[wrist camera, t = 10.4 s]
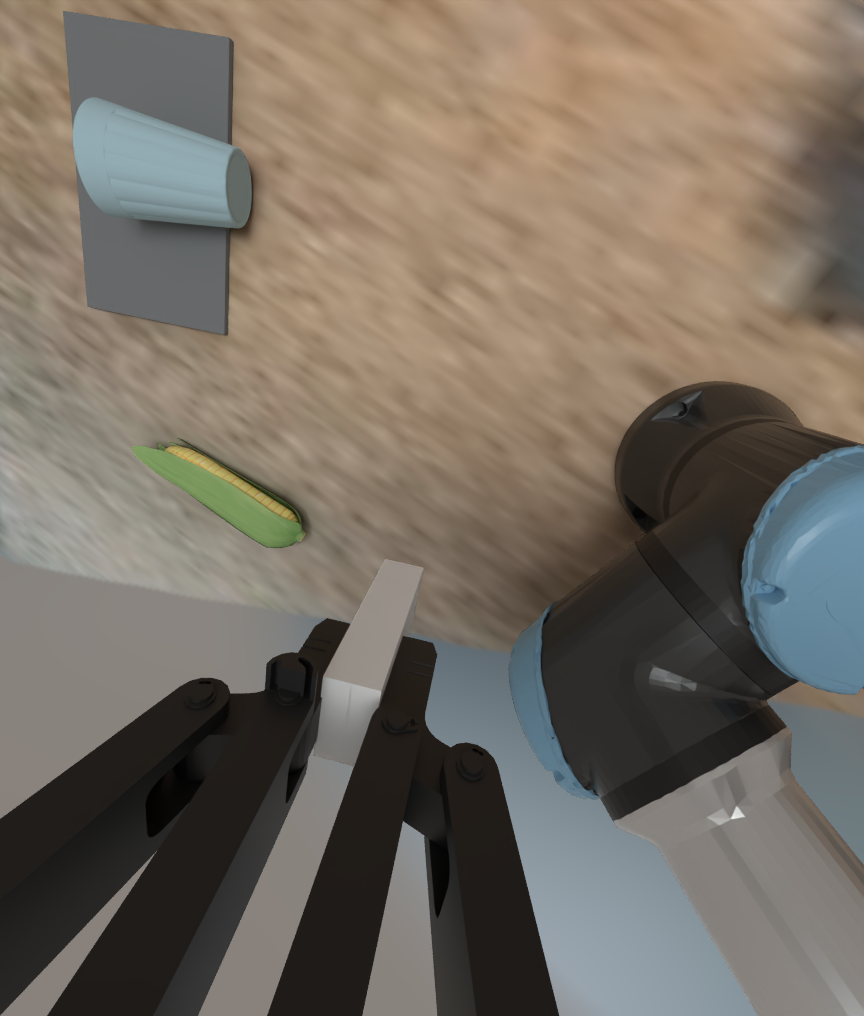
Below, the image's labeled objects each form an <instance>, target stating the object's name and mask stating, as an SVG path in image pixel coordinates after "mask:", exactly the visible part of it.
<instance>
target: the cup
mask: <svg viewBox="0 0 864 1016" xmlns="http://www.w3.org/2000/svg"><path fill="white" fill-rule="evenodd" d="M73 148H74V155H75V160H76V164H77V168H78V171H79V174H80V177H81V180H82V182H83V185H84V187H85V189H86V191H87V193H88V194H89V196H90V198H91V199H92V200H93V202H94V203H95V204H96V205H97V207H98V208H99V209H100V210H102V211H103V212H104V213H106V214H107V215H109V216H112V217H119V218H129V219H141V220H152V221H162V222H173V223H184V224H194V225H205V226H215V227H226V228H242V227H243V226H244V225H245V224H246V222H247V220H248V218H249V214H250V209H251V201H252V185H251V176H250V170H249V166H248V162H247V159H246V157H245V155H244V153H243V152H242V151H241V149H239V148H238V147H235V146H232V145H230V144H227V143H224V142H221V141H219V140H216V139H213V138H210V137H207V136H204V135H202V134H199V133H196V132H193V131H190V130H187V129H185V128H182V127H179V126H176V125H173V124H170V123H168V122H165V121H162V120H159V119H156V118H153V117H151V116H148V115H145V114H142V113H139V112H136V111H134V110H131V109H128V108H126V107H123V106H120V105H117V104H115V103H112V102H109V101H106V100H103V99H100V98H96V97H92V98H88V99H86V100H85V101H84V102H83V103H82V104H81V105H80V107H79V108H78V110H77V113H76V116H75V119H74V126H73Z"/></svg>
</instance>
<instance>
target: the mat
mask: <svg viewBox="0 0 864 1016" xmlns="http://www.w3.org/2000/svg"><path fill="white" fill-rule="evenodd" d="M63 16H64V28H65V40H66V52H67V64H68V76H69V88H70V100H71V112H72V124H73V126H74V119H75V116H76V113H77V110H78V108H79V107H80V105H81V104H82V103H83V102H84V101H85V100H86V99H88V98H92V97H96V98H100V99H103V100H106V101H109V102H112V103H115V104H117V105H120V106H123V107H126V108H128V109H131V110H134V111H136V112H139V113H142V114H145V115H148V116H151V117H153V118H156V119H159V120H162V121H165V122H168V123H170V124H173V125H176V126H179V127H182V128H185V129H187V130H190V131H193V132H196V133H199V134H202V135H204V136H207V137H210V138H213V139H216V140H219V141H221V142H224V143H227V144H230V145H231V140H232V88H233V41H232V40H231V39H230V38H229V37H223V36H216V35H210V34H204V33H198V32H191V31H185V30H179V29H173V28H166V27H160V26H154V25H148V24H141V23H135V22H129V21H123V20H116V19H110V18H104V17H98V16H91V15H85V14H79V13H73V12H66V11H63ZM76 172H77V184H78V196H79V208H80V220H81V232H82V245H83V257H84V269H85V281H86V293H87V305H88V307H91V308H96V309H101V310H106V311H111V312H116V313H121V314H126V315H130V316H135V317H140V318H145V319H150V320H155V321H160V322H165V323H169V324H174V325H179V326H184V327H189V328H194V329H199V330H204V331H208V332H213V333H218V334H223V335H228V294H229V243H230V228H226V227H215V226H205V225H194V224H184V223H173V222H162V221H152V220H141V219H129V218H119V217H112V216H109V215H107V214H106V213H104V212H103V211H102V210H100V209H99V208H98V207H97V205H96V204H95V203H94V202H93V200H92V199H91V198H90V196H89V194H88V193H87V191H86V189H85V187H84V185H83V182H82V180H81V177H80V174H79V171H78V168H77V164H76Z"/></svg>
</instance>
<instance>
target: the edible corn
mask: <svg viewBox="0 0 864 1016" xmlns="http://www.w3.org/2000/svg"><path fill="white" fill-rule="evenodd" d="M179 440H180V439H179ZM180 441H182V440H180ZM167 442H168V441H167ZM182 442H183V443H185V442H184V441H182ZM169 443H171V442H169ZM171 444H172V445H174V446H170V447H168V448H165V447H164V446H162V445H160V444H159V443H158V447H159V450H157V449H153V448H149V447H145V446H134V447H131V448H132V450H133V452H134V454H135V456H136V457H137V458H138V459H139V460H141V461H142V462H143V463H144V464H146V465H147V466H148V467H150V468H151V469H152V470H153V471H155V472H156V473H157V474H159V475H160V476H162V477H164V478H165V479H167V480H168V481H170V482H171V483H173V484H175V485H176V486H178V487H179V488H181V489H182V490H184V491H186V492H187V493H188V494H190V495H191V496H192V497H194V498H195V499H196V500H198V501H199V502H200V503H202V504H203V505H204V506H206V507H207V508H209V509H210V510H211V511H213V512H214V513H215V514H217V515H218V516H220V517H221V518H222V519H224V520H225V521H226V522H228V523H229V524H231V525H232V526H233V527H235V528H236V529H238V530H239V531H241V532H242V533H244V534H245V535H247V536H248V537H250V538H252V539H253V540H255V541H256V542H258V543H260V544H262V545H263V546H265V547H270V548H282V547H287V546H291V545H293V544H294V543H295V542H296V541H297V542H299V543H300V542H301V541H302V539H303V538H304V537H305V535H306V532H304V531H303V530H302V523H301V517H300V516H299V514H298V512H297V511H296V510H295V509H294V508H293V507H292V506H291V505H290V504H288V503H287V502H285V501H284V500H282V499H281V498H279V497H277V496H276V495H274V494H272V493H271V492H269V491H267V490H265V489H264V488H262V487H260V486H258V485H257V484H255V483H253V482H251V481H250V480H248V479H246V478H244V477H243V476H241V475H239V474H238V473H236V472H234V471H232V470H231V469H229V468H227V467H226V466H224V465H222V464H221V463H219V462H217V461H215V460H214V459H212V458H210V457H209V456H207V455H205V454H204V453H202V452H200V451H199V450H197V449H195V448H194V447H192V446H190V445H189V444H187V443H185V444H187V445H188V446H190V447H191V448H193V449H195V450H196V451H198V452H199V453H201V454H203V455H204V456H203V455H201V454H199V453H198V452H196V451H194V450H191V449H188V448H185V447H182V446H179V445H176V444H174V443H171ZM205 456H206V457H205ZM225 468H226V469H225ZM230 471H231V472H230Z"/></svg>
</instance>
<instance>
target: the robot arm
mask: <svg viewBox="0 0 864 1016" xmlns="http://www.w3.org/2000/svg"><path fill="white" fill-rule="evenodd" d="M615 483H616V488H617V492H618V496H619V498H620V501H621V503H622V505H623V507H624V508H625V510H626V511H627V513H628V514H629V516H630V517H631V518H632V520H633V521H634V522H635V524H636V525H637V526H638V527H639V528H640V529H641V530H642V531H644V532H645V533H646V534H647V535H645V536H644V537H643V538H641V539H640V540H639V541H637V542H635V543H634V544H633V545H631V546H630V547H629V548H627V549H626V550H625V551H624V552H622V553H621V554H620V555H618V556H617V557H616V558H615V559H613V560H612V561H611V562H610V563H608V564H607V565H606V566H604V567H603V568H602V569H601V570H599V571H598V572H597V573H595V574H594V575H593V576H592V577H590V578H589V579H588V580H586V581H585V582H584V583H583V584H581V585H580V586H578V587H577V588H576V589H574V590H573V591H572V592H570V593H569V594H568V595H566V596H565V597H564V598H562V599H561V600H560V601H556V602H554V603H553V604H551V605H550V606H548V607H547V608H546V609H545V610H544V612H543V613H542V615H541V616H540V617H539V618H538V619H537V620H536V621H535V622H534V623H533V624H531V625H530V626H529V627H528V628H527V629H525V630H524V631H523V632H522V633H521V634H520V635H519V637H518V638H517V639H516V641H515V643H514V645H513V647H512V651H511V660H510V663H509V683H510V690H511V695H512V700H513V704H514V707H515V710H516V713H517V716H518V719H519V721H520V724H521V727H522V729H523V731H524V734H525V736H526V738H527V740H528V742H529V744H530V746H531V748H532V749H533V751H534V753H535V755H536V756H537V758H538V759H539V761H540V762H541V764H542V765H543V766H544V768H545V769H546V770H548V771H553V774H554V777H555V780H556V782H557V783H558V784H559V785H560V786H561V787H562V788H564V789H565V790H566V791H567V792H568V793H570V794H572V795H574V796H576V797H579V798H583V799H586V798H590V799H599V798H601V801H602V802H603V804H604V806H605V807H606V809H607V811H608V813H609V815H610V817H611V818H612V820H613V822H614V824H615V825H616V827H618V828H620V829H622V830H624V831H627V832H629V833H631V834H633V835H636V836H638V837H640V838H642V839H645V840H647V841H649V842H650V843H652V844H653V845H654V846H656V847H657V848H658V849H659V851H660V852H661V854H662V856H663V857H664V859H665V860H666V862H667V864H668V866H669V867H670V869H671V871H672V872H673V874H674V876H675V877H676V879H677V881H678V882H679V884H680V886H681V888H682V889H683V891H684V893H685V894H686V896H687V898H688V899H689V901H690V903H691V904H692V906H693V908H694V909H695V911H696V913H697V914H698V916H699V918H700V919H701V921H702V923H703V925H704V926H705V928H706V929H707V931H708V933H709V934H710V936H711V938H712V940H713V941H714V943H715V945H716V946H717V948H718V950H719V951H720V953H721V955H722V957H723V958H724V960H725V961H726V963H727V965H728V967H729V968H730V970H731V972H732V973H733V975H734V977H735V978H736V980H737V982H738V983H739V985H740V987H741V989H742V990H743V992H744V993H745V995H746V997H747V999H748V1000H749V1002H750V1004H751V1005H752V1007H753V1008H754V1010H755V1012H756V1014H757V1015H758V1016H864V865H863V864H862V862H861V861H860V860H859V859H858V858H857V856H856V855H855V854H854V853H853V851H852V850H851V849H850V848H849V846H848V845H847V844H846V843H845V841H844V840H843V839H842V838H841V836H840V835H839V834H838V833H837V831H836V830H835V829H834V828H833V826H832V825H831V824H830V823H829V821H828V820H827V819H826V818H825V817H824V815H823V814H822V813H821V812H820V810H819V809H818V808H817V807H816V805H815V804H814V803H813V802H812V800H811V799H810V798H809V797H808V795H807V794H806V793H805V792H804V791H803V789H802V788H801V787H800V786H799V784H798V783H797V782H796V780H795V778H794V776H793V774H792V773H791V770H790V768H791V741H792V733H791V732H790V730H789V729H788V727H787V726H786V725H785V724H784V722H783V721H782V720H781V719H780V718H779V716H778V715H777V714H776V713H775V712H774V710H773V709H772V708H771V707H770V706H769V705H768V703H767V700H768V699H769V698H771V697H772V696H773V695H776V694H777V693H779V692H781V691H783V690H784V689H786V688H788V687H790V686H791V685H793V684H795V683H797V682H799V681H801V682H803V683H805V684H808V685H810V686H812V687H815V688H817V689H821V690H825V691H827V692H834V693H838V694H850V695H855V694H857V693H858V692H859V690H860V689H861V688H864V444H860V443H857V442H854V441H850V440H847V439H844V438H840V437H837V436H833V435H830V434H827V433H823V432H820V431H817V430H813V429H810V428H806V427H804V426H803V425H802V424H801V422H800V421H799V419H798V418H797V416H796V415H795V414H794V412H793V411H792V410H791V409H790V408H789V407H788V406H787V405H786V404H785V403H783V402H782V401H781V400H779V399H778V398H776V397H775V396H773V395H771V394H769V393H767V392H765V391H763V390H761V389H758V388H755V387H751V386H747V385H743V384H738V383H732V382H718V381H715V382H704V383H698V384H693V385H690V386H686V387H683V388H680V389H678V390H676V391H673V392H671V393H669V394H667V395H666V396H664V397H662V398H661V399H659V400H658V401H656V402H655V403H653V404H652V405H651V406H649V407H648V408H647V409H646V410H645V411H644V412H643V413H642V414H641V415H640V416H639V417H638V418H637V419H636V420H635V422H634V423H633V424H632V426H631V427H630V428H629V430H628V431H627V433H626V435H625V437H624V439H623V441H622V443H621V445H620V448H619V451H618V454H617V459H616V465H615ZM422 573H423V567H418V566H414V565H410V564H406V563H401V562H397V561H393V560H388V559H385V560H384V562H383V564H382V565H381V567H380V569H379V571H378V573H377V575H376V577H375V579H374V581H373V583H372V584H371V586H370V588H369V590H368V592H367V594H366V596H365V598H364V600H363V602H362V603H361V605H360V607H359V609H358V611H357V613H356V615H355V617H354V619H353V621H352V622H351V624H349V623H345V622H341V621H337V620H332V619H328V618H327V619H325V620H324V621H322V622H321V623H320V624H318V625H316V626H315V627H314V629H313V630H312V632H311V633H310V635H309V637H308V639H307V640H306V641H305V643H304V644H303V647H301V649H300V651H299V652H298V653H293V652H292V653H285V654H281V655H278V656H276V657H274V658H272V659H271V660H270V661H269V662H268V663H267V667H266V682H265V690H264V691H261V692H257V693H245V694H230V691H229V688H228V686H227V685H226V684H225V683H224V682H222V681H221V680H218V679H214V678H200V679H196V680H192V681H189V682H187V683H186V684H184V685H182V686H180V687H179V688H177V689H176V690H175V691H174V692H172V693H171V694H169V695H168V696H167V697H165V698H164V699H163V700H161V701H160V702H158V703H157V704H156V705H154V706H153V707H152V708H150V709H149V710H148V711H146V712H145V713H143V714H142V715H141V716H139V717H138V718H137V719H135V720H134V721H133V722H131V723H130V724H129V725H127V726H126V727H124V728H123V729H122V730H120V731H119V732H118V733H116V734H115V735H114V736H112V737H111V738H110V739H108V740H107V741H106V742H104V743H103V744H102V745H100V746H99V747H97V748H96V749H95V750H93V751H92V752H91V753H89V754H88V755H87V756H85V757H84V758H83V759H81V760H80V761H79V762H77V763H76V764H74V765H73V766H72V767H70V768H69V769H68V770H66V771H65V772H63V773H62V774H61V775H60V776H58V777H57V778H55V779H54V780H53V781H51V782H50V783H48V784H47V785H46V786H44V787H43V788H42V789H40V790H39V791H38V792H37V793H35V794H34V795H32V796H31V797H29V798H28V799H27V800H25V801H24V802H23V803H22V804H20V805H19V806H17V807H16V808H15V809H13V810H12V811H10V812H9V813H8V814H7V815H5V816H4V817H2V818H1V819H0V1015H1V1014H2V1013H3V1012H4V1011H5V1010H6V1009H7V1008H8V1007H9V1005H10V1004H11V1003H12V1002H13V1001H14V1000H15V999H16V998H17V997H18V996H19V995H20V994H21V993H22V992H23V991H24V990H25V989H26V988H27V987H28V985H29V984H30V983H31V982H32V981H33V980H34V979H35V978H36V977H37V976H38V975H39V974H40V973H41V972H42V971H43V970H44V968H46V967H47V966H48V964H49V963H50V962H51V961H52V960H53V959H54V958H55V957H56V956H57V955H58V954H59V953H60V952H61V951H62V950H63V949H64V948H65V946H67V945H68V943H69V942H70V941H71V940H72V939H73V938H74V937H75V936H76V935H77V934H78V933H79V932H80V931H81V930H82V929H83V928H84V927H85V926H86V924H87V923H88V922H89V921H90V920H91V919H92V918H93V917H94V916H95V915H96V914H97V913H98V912H99V911H100V910H101V909H102V908H103V907H104V906H105V905H106V904H107V902H108V901H109V900H110V899H111V898H112V897H113V896H114V895H115V894H116V893H117V892H118V891H119V890H120V889H121V888H122V887H123V886H124V885H125V884H126V883H127V881H128V880H129V879H130V878H131V877H132V876H133V875H134V874H135V873H136V872H137V871H138V870H139V869H140V868H141V867H142V866H143V865H144V864H145V863H146V862H147V861H148V859H149V858H150V857H151V856H152V855H153V854H154V853H155V852H156V851H157V852H156V854H155V855H154V856H153V858H152V859H151V861H150V862H149V864H148V866H147V867H146V868H145V870H144V872H143V873H142V874H141V876H140V877H139V879H138V881H137V882H136V883H135V885H134V887H133V888H132V889H131V891H130V892H129V894H128V895H127V897H126V898H125V900H124V901H123V903H122V904H121V906H120V908H119V909H118V911H117V912H116V914H115V915H114V916H113V918H112V919H111V921H110V922H109V924H108V925H107V927H106V928H105V930H104V931H103V933H102V934H101V936H100V937H99V939H98V941H97V942H96V943H95V945H94V946H93V948H92V949H91V951H90V953H89V954H88V955H87V957H86V959H85V960H84V961H83V963H82V964H81V966H80V967H79V969H78V970H77V972H76V973H75V975H74V976H73V978H72V979H71V981H70V983H69V984H68V985H67V987H66V988H65V990H64V991H63V993H62V994H61V996H60V997H59V999H58V1001H57V1002H56V1003H55V1005H54V1007H53V1008H52V1009H51V1011H50V1012H49V1014H48V1015H47V1016H198V1014H199V1012H200V1010H201V1007H202V1005H203V1003H204V1000H205V998H206V996H207V994H208V991H209V989H210V987H211V985H212V983H213V980H214V978H215V976H216V974H217V972H218V969H219V967H220V965H221V963H222V960H223V958H224V956H225V953H226V951H227V949H228V947H229V945H230V942H231V940H232V938H233V936H234V933H235V931H236V929H237V927H238V924H239V922H240V920H241V918H242V915H243V913H244V911H245V909H246V906H247V904H248V902H249V900H250V898H251V895H252V893H253V891H254V888H255V886H256V884H257V882H258V879H259V877H260V875H261V873H262V871H263V868H264V866H265V864H266V862H267V859H268V857H269V855H270V853H271V850H272V848H273V846H274V844H275V841H276V839H277V837H278V835H279V832H280V830H281V828H282V826H283V823H284V821H285V819H286V817H287V815H288V812H289V810H290V808H291V806H292V803H293V801H294V799H295V797H296V794H297V792H298V790H299V787H300V785H301V783H302V781H303V779H304V776H305V774H306V770H307V764H308V757H309V755H310V753H311V751H312V749H313V747H314V744H315V747H314V756H317V757H321V758H324V759H328V760H332V761H336V762H340V763H343V764H347V765H351V766H354V768H353V771H352V774H351V777H350V780H349V783H348V786H347V789H346V791H345V794H344V797H343V800H342V803H341V806H340V809H339V811H338V814H337V817H336V820H335V823H334V826H333V829H332V831H331V834H330V837H329V840H328V843H327V846H326V849H325V852H324V855H323V858H322V860H321V863H320V866H319V869H318V872H317V875H316V877H315V880H314V883H313V886H312V889H311V892H310V895H309V898H308V900H307V903H306V906H305V909H304V912H303V915H302V918H301V921H300V924H299V926H298V929H297V932H296V935H295V938H294V941H293V943H292V946H291V949H290V952H289V955H288V958H287V961H286V963H285V967H284V969H283V972H282V975H281V978H280V981H279V984H278V987H277V989H276V992H275V995H274V998H273V1001H272V1004H271V1006H270V1009H269V1013H268V1015H267V1016H362V1014H363V1009H364V1004H365V999H366V995H367V990H368V985H369V980H370V975H371V971H372V966H373V961H374V956H375V951H376V947H377V942H378V937H379V933H380V928H381V923H382V918H383V914H384V909H385V904H386V899H387V894H388V890H389V885H390V880H391V875H392V871H393V866H394V861H395V856H396V851H397V847H398V842H399V837H400V832H401V828H402V823H403V821H404V822H405V823H407V824H408V825H410V826H411V827H413V828H414V829H416V830H418V831H419V832H420V833H422V834H423V835H424V836H425V837H424V839H425V853H426V868H427V881H428V894H429V907H430V921H431V935H432V949H433V961H434V976H435V988H436V1002H437V1015H438V1016H559V1013H558V1009H557V1005H556V1001H555V997H554V993H553V989H552V985H551V981H550V977H549V973H548V968H547V965H546V961H545V956H544V952H543V948H542V944H541V940H540V936H539V932H538V928H537V924H536V920H535V916H534V912H533V908H532V903H531V899H530V896H529V891H528V887H527V884H526V880H525V875H524V871H523V867H522V863H521V859H520V855H519V851H518V847H517V843H516V839H515V835H514V831H513V827H512V822H511V819H510V814H509V810H508V806H507V802H506V798H505V794H504V790H503V786H502V782H501V778H500V774H499V770H498V767H497V764H496V762H495V760H494V758H493V757H492V756H491V755H490V754H489V753H488V752H487V751H486V750H485V749H483V748H481V747H480V746H478V745H475V744H470V743H459V744H456V745H454V746H452V747H449V746H447V745H445V744H444V743H442V742H441V741H439V740H438V739H436V738H435V737H434V736H433V735H432V734H431V732H430V731H429V729H428V728H427V726H426V722H425V711H426V706H427V701H428V697H429V692H430V687H431V681H432V677H433V672H434V667H435V663H436V658H437V653H436V650H435V647H434V645H433V643H430V642H427V641H423V640H419V639H415V638H410V637H409V634H410V631H411V628H412V623H413V618H414V613H415V608H416V603H417V598H418V593H419V588H420V583H421V578H422Z"/></svg>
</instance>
